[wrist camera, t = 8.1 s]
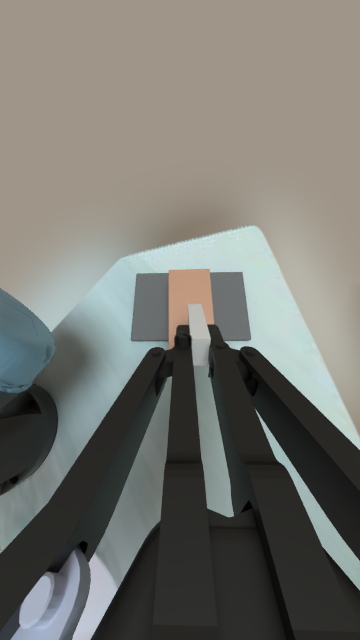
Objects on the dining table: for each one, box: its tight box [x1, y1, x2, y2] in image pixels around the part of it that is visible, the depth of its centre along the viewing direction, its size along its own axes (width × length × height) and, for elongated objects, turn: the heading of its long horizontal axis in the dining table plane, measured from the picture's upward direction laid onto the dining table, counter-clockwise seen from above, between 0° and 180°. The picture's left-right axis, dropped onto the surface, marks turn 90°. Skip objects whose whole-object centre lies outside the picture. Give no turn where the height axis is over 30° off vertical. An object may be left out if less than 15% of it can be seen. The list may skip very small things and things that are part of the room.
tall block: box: [169, 269, 214, 349], centre depth 27 cm, size 7×5×14 cm
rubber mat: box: [131, 272, 251, 341], centre depth 30 cm, size 22×14×1 cm, turn 90°
